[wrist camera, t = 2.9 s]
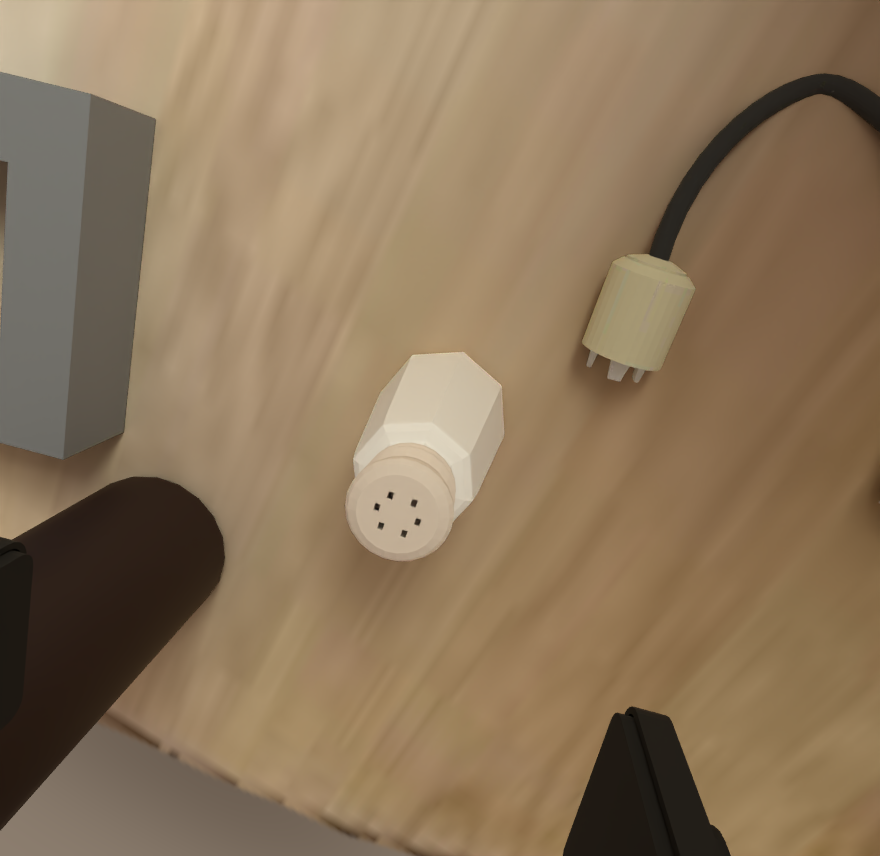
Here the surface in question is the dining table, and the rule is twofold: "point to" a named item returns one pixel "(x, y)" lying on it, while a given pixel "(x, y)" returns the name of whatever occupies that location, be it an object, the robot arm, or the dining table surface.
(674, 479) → the dining table surface
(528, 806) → the dining table surface
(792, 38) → the dining table surface
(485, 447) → the pepper shaker
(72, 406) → the frame
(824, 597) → the dining table surface
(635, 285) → the cable
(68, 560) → the dark brown water bottle
